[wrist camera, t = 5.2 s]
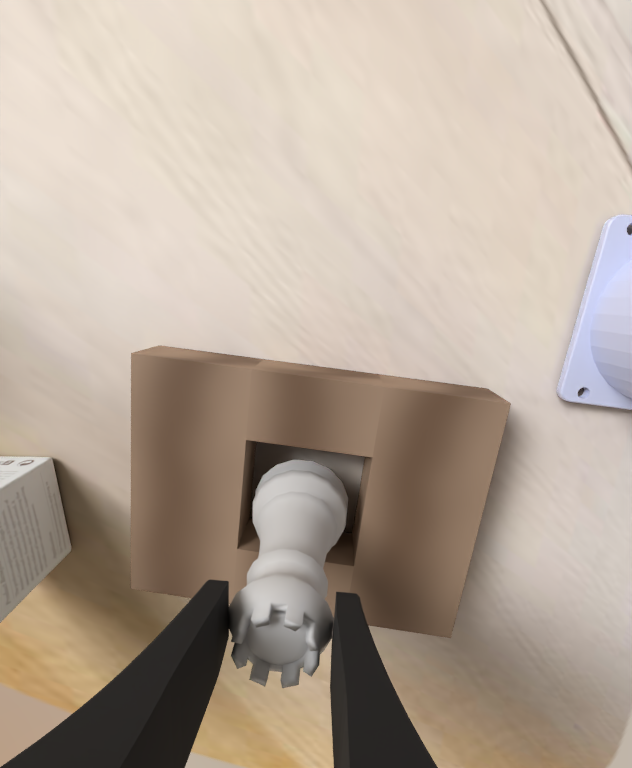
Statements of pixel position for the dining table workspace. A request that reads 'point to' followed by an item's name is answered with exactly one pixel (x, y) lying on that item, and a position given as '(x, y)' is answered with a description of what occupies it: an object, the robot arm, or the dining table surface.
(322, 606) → the rook chess piece
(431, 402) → the socket board
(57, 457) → the dining table surface
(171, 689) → the robot arm
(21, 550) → the skincare box
